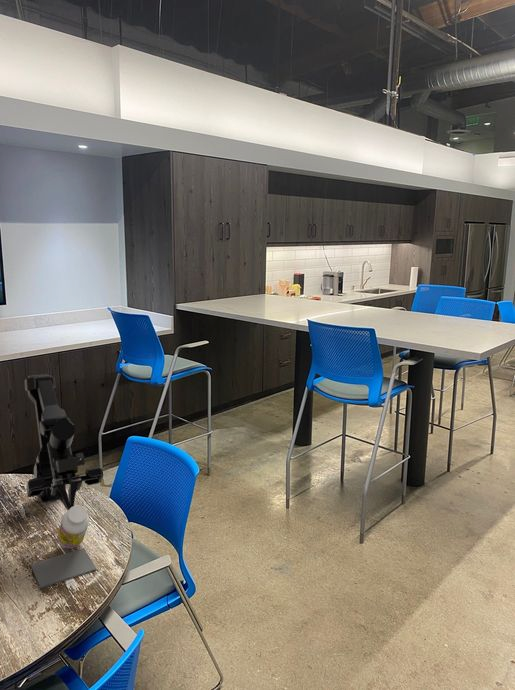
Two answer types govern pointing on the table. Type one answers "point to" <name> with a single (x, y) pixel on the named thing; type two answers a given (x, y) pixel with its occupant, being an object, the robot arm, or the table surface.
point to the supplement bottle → (73, 527)
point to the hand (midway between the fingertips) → (71, 512)
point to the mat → (62, 567)
